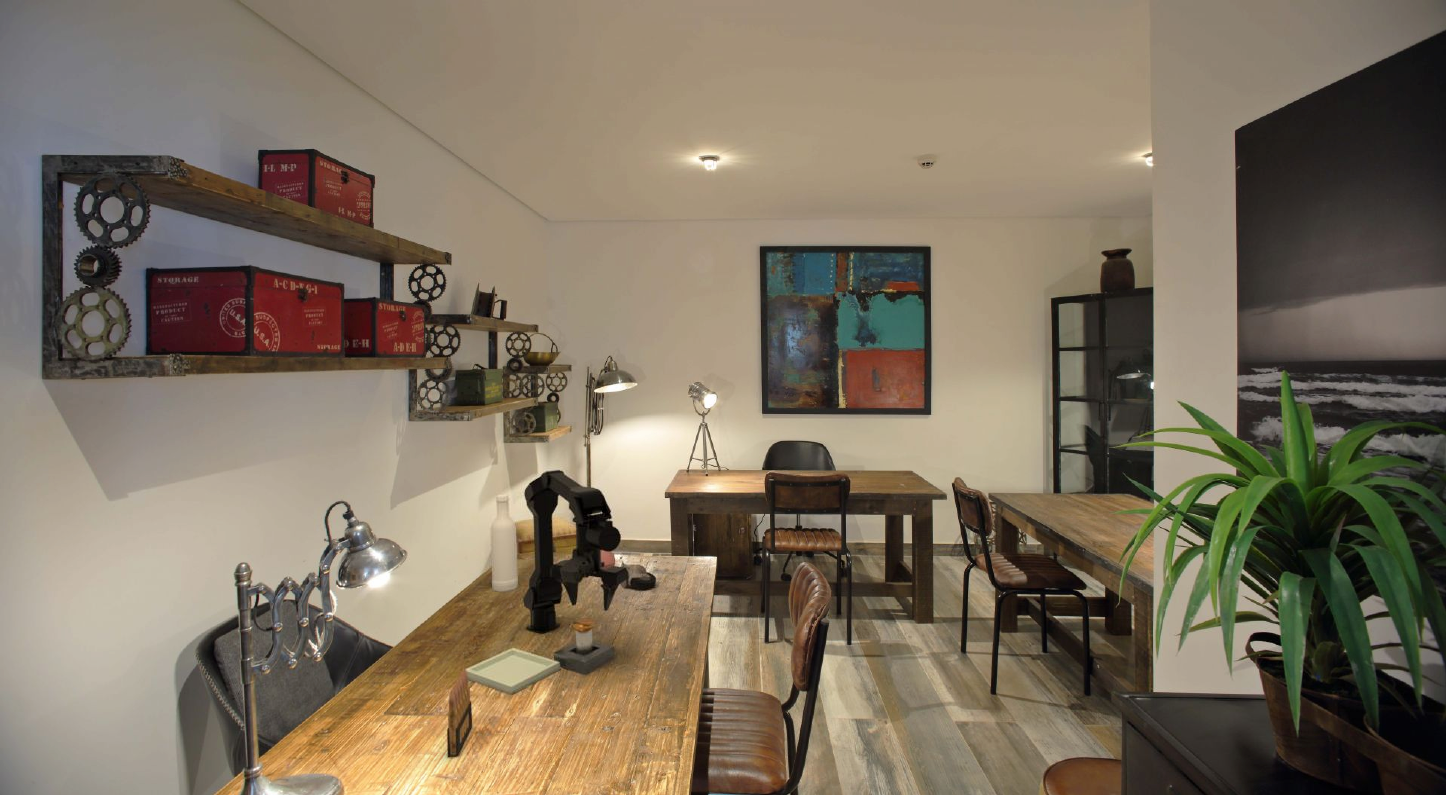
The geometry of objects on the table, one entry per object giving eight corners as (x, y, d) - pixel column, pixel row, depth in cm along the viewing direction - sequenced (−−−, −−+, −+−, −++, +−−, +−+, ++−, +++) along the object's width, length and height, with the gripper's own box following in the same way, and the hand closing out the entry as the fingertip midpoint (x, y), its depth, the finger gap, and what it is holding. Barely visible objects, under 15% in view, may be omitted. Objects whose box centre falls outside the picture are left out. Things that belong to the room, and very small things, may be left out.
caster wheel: (657, 596, 213) (627, 596, 209) (645, 579, 223) (616, 579, 218) (661, 576, 212) (631, 577, 207) (649, 560, 222) (620, 560, 217)
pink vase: (610, 575, 227) (609, 540, 226) (589, 574, 228) (588, 539, 228) (618, 569, 234) (618, 535, 234) (598, 568, 236) (597, 534, 235)
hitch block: (554, 665, 158) (553, 652, 158) (584, 650, 167) (583, 638, 167) (585, 675, 153) (584, 662, 153) (614, 658, 161) (614, 646, 161)
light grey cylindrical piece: (569, 663, 159) (568, 624, 159) (584, 656, 163) (583, 617, 163) (584, 668, 156) (583, 628, 156) (599, 660, 161) (598, 621, 160)
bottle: (487, 591, 213) (483, 497, 212) (502, 583, 221) (499, 492, 219) (508, 593, 211) (505, 498, 210) (523, 585, 218) (520, 493, 217)
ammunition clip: (462, 726, 132) (460, 666, 131) (472, 725, 132) (470, 665, 131) (447, 757, 121) (445, 692, 121) (458, 756, 121) (455, 691, 121)
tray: (464, 677, 153) (463, 670, 153) (513, 655, 164) (513, 647, 164) (511, 695, 144) (511, 687, 144) (559, 669, 156) (559, 662, 156)
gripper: (534, 547, 156) (536, 613, 157) (602, 556, 149) (603, 625, 149) (564, 536, 166) (566, 598, 167) (629, 543, 159) (630, 608, 159)
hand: (590, 607), depth 160 cm, fingers open, 9 cm apart
